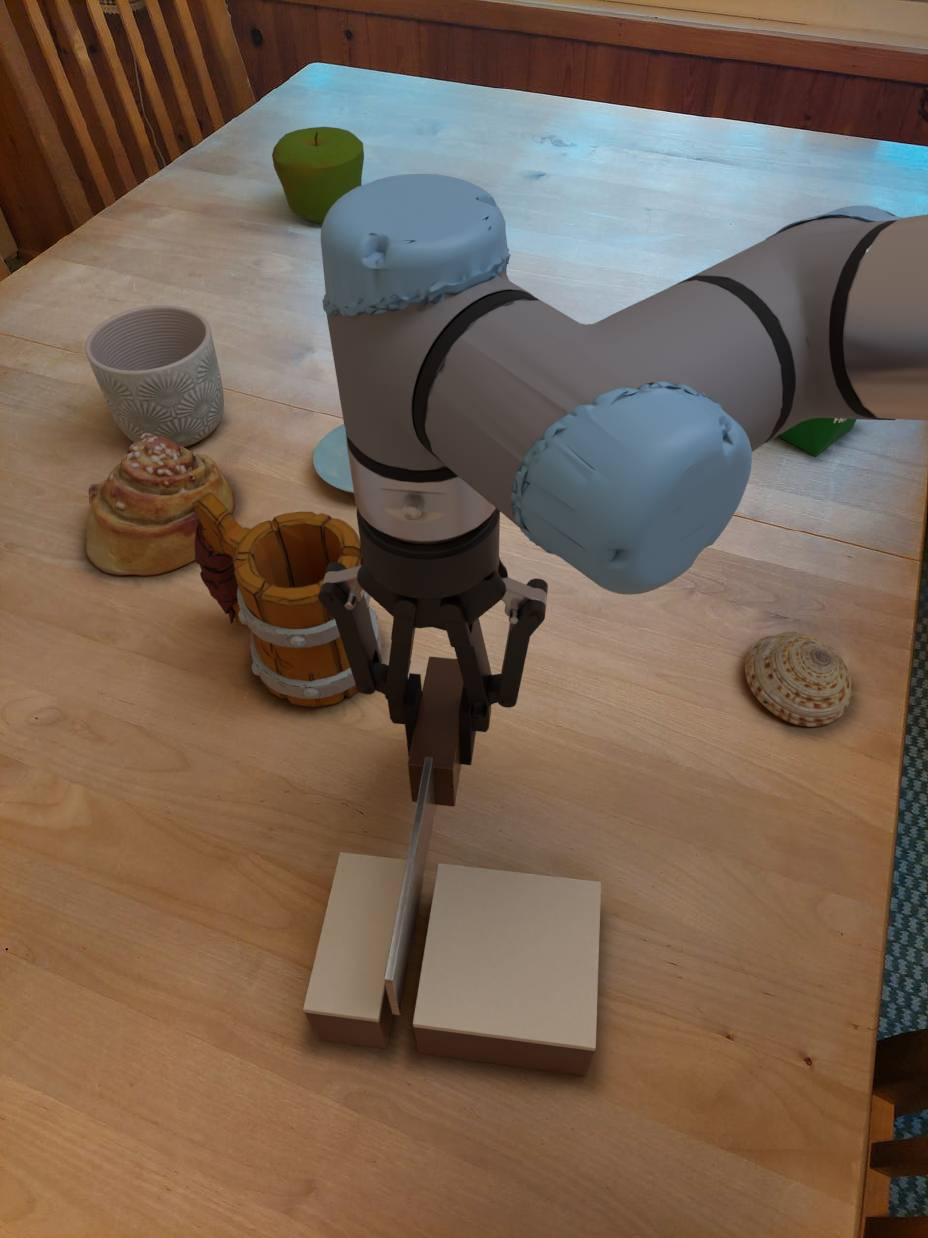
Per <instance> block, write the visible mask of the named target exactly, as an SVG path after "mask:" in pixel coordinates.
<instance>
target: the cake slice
mask: <svg viewBox="0 0 928 1238" xmlns="http://www.w3.org/2000/svg"><path fill="white" fill-rule="evenodd" d="M405 863H406V858H405V859H403V858H396V857H387V856H377V855H370V854H361V853H360V854H359V853H353V852H352V853H351V852H344V851H340V852H339V855H338V859H337V864H336V868H335V872H334V875H333V881H332V884H331V889H330V893H329V896H328V902H327V904H326V905H327V906H326V909H325V914H324V918H323V922H322V927H321V931H320V935H319V939H318V944H317V948H316V951H315V956H314V960H313V963H312V964H313V965H312V968H311V974H310V978H309V982H308V985H307V990H306V995H305V999H304V1003H303V1007H302V1010H303V1012H304V1014H305V1016H306V1019H307V1021H308V1022H309V1025H310V1027H311V1029H312V1031H313V1033H314V1035H315V1037H316V1040H318V1041H325V1042H332V1043H340V1044H345V1045H353V1046H354V1045H355V1046H362V1047H369V1048H374V1049H375V1048H376V1049H377V1048H378V1049H384V1050H386V1049H388V1044H389V1039H390V1038H389V1037H390V1034H391V1033H390V1032H391V1027H392V1020H393V1015H394V1014H392V1011H391V1007H390V1002H389V998H388V994H387V990H386V986H385V981H384V975H385V970H386V965H387V959H388V954H389V949H390V943H391V938H392V933H393V927H394V922H395V917H396V911H397V906H398V901H399V895H400V890H401V885H402V879H403V874H404V869H405Z"/></svg>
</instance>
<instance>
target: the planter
mask: <svg viewBox="0 0 928 1238" xmlns="http://www.w3.org/2000/svg"><path fill="white" fill-rule="evenodd" d="M84 352H85V353H84V354H85V356H86V358H87V360H88V363H89V365H90V367H91V370H92V372H93V375H94V377H95V380H96V382H97V384H98V386H99V389H100V391H101V393H102V396H103V398H104V401H105V402H106V405H107V407H108V410H109V411H110V412H111V413H110V414H111V415H112V417H113V419H114V421H115V423H116V424H117V426H118V427H119V429H120V430H121V432H122V433H123V434H124V435H125V436H126V438H129V440H130V441H132V442H133V443H135V442H137V441H139V440H140V437H141V436H142V435H143V434H144V433H149V434H152V435H154V436H164V437H166V438H167V439H169V440H171V441H174V442H175V443H176V444H178V445H179V446H182V447H184V448H186V447H188V446H192V445H195V444H196V443H199V442H200V441H202V440H204V439H205V438H207V437H208V436H209V435H211V434H212V433H213V432H214V431H215V429H216V428H217V427H218V426H219V424H220V423H221V421H222V418H223V415H224V409H225V397H224V388H223V382H222V376H221V371H220V367H219V366H220V365H219V361H218V357H217V352H216V347H215V344H214V338H213V335H212V328H211V325H210V323H209V321H208V320H207V319H206V318H205V317H204V316H203V315H202V314H200V313H199V312H197V311H195V310H192V309H190V308H186V307H182V306H178V305H170V304H169V305H168V304H167V305H166V304H159V305H158V304H157V305H155V304H154V305H147V306H141V307H135V308H132V309H129V310H125V311H122V312H120V313H118V314H117V313H116V314H115V315H113V316H111V317H109V318H107V319H105V320H104V321H102V322H101V323H100V324H98V325H97V326H96V327H95V328H94V329H93V330H92V331H91V332H90V334H89V335H88V336H87V338H86V341H85V343H84Z"/></svg>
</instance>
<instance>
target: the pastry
mask: <svg viewBox="0 0 928 1238" xmlns="http://www.w3.org/2000/svg"><path fill="white" fill-rule="evenodd" d="M207 492H210V493H212V494H213V495H215V496H216V497H217V498H218V499H219V500H220V501H221V502H222V503H223V505H224V506H225V507H226V508H227V509H228V510H229V512H230V513H231V514H232V515H233V512H234V510H235V508H236V507H235V506H236V499H235V493H234V490H233V489H232V487H231V485H230V484H229V482H228V481H227V479H226V478H225V476H224V475H223V474H222V472H220V469H219V467H218V465H217V464H216V461H214V459H212V457H209V456H207V455H205V454H199V453H195V452H194V451H191V450H190V449H187V448H186V447H182V446H179V445H178V444H176V443H175V442H174V441H171V440H169V439H167V438H166V437H164V436H154V435H152V434H149V433H144V434H143V435H142V436H141V437H140V440H139V441H137V442H133V443H132V444H131V445H129V447H128V450H126V452H125V453H124V454H123V455H122V458H121V460H120V462H119V463H117V464H116V465H115V466H114V467H113V469H112V470H111V472H110V473H109V474H108V476H107V477H106V479H104V480H102V481H100V482H98V483H92V484H90V486H89V487H88V499H89V500H88V503H89V514H88V520H87V527H86V549H85V550H86V554H87V557H88V559H89V560H90V561H91V562H92V564H94V566H95V567H96V568H98V569H99V570H100V571H102V572H104V573H106V574H111V575H117V576H132V575H133V576H134V575H135V576H142V577H143V576H144V577H145V576H156V575H161V574H164V573H169V572H172V571H174V570H177V569H180V568H183V567H184V566H186V565H188V564H191V563H192V562H195V533H196V528H197V526H198V524H199V522H200V520H199V518H198V516H197V514H196V512H195V510H194V508H193V504H192V503H193V502H194V501H195V500H196V499H197V498H199V497H200V496H201V495H202V494H204V493H207Z"/></svg>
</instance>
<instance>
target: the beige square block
mask: <svg viewBox="0 0 928 1238" xmlns="http://www.w3.org/2000/svg"><path fill="white" fill-rule="evenodd" d="M601 896H602V882H601V881H597V880H589V879H588V880H587V879H579V878H578V879H577V878H570V877H563V876H552V875H544V874H537V873H536V874H535V873H526V872H519V871H509V870H501V869H492V868H485V867H484V868H483V867H474V866H467V865H466V866H465V865H459V864H449V863H441V862H438V863H437V868H436V875H435V880H434V887H433V894H432V900H431V906H430V912H429V919H428V925H427V931H426V937H425V943H424V948H423V949H424V951H423V956H422V962H421V969H420V973H419V982H418V988H417V994H416V999H415V1006H414V1012H413V1019H412V1027H413V1031H414V1037H415V1041H416V1046H417V1052H418V1054H421V1055H429V1056H435V1057H443V1058H451V1059H455V1060H456V1059H457V1060H464V1061H472V1062H480V1063H486V1064H494V1065H501V1066H509V1067H515V1068H516V1067H517V1068H523V1069H531V1070H539V1071H546V1072H553V1073H561V1074H566V1075H567V1074H568V1075H576V1076H582V1077H587V1075H588V1072H589V1069H590V1066H591V1063H592V1060H593V1057H594V1054H595V1052H596V1049H597V1021H598V990H599V961H600V960H599V958H600V931H601V929H600V928H601V898H602V897H601Z"/></svg>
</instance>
